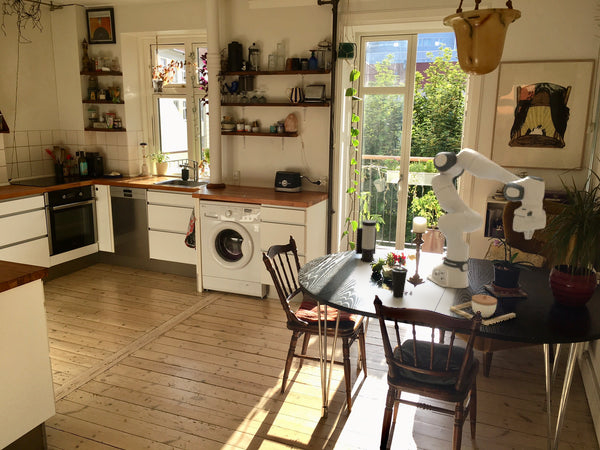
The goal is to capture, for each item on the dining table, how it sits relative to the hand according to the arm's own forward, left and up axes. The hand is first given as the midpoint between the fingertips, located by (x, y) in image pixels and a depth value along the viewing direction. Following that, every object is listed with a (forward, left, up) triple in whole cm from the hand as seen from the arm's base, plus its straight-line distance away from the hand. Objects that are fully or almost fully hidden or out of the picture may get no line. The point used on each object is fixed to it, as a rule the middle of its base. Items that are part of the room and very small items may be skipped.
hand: (528, 238), depth 235 cm
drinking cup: (-32, -52, -31) cm, 68 cm away
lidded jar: (+5, -34, -31) cm, 46 cm away
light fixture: (-88, -27, -31) cm, 97 cm away
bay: (+3, -33, -30) cm, 45 cm away
